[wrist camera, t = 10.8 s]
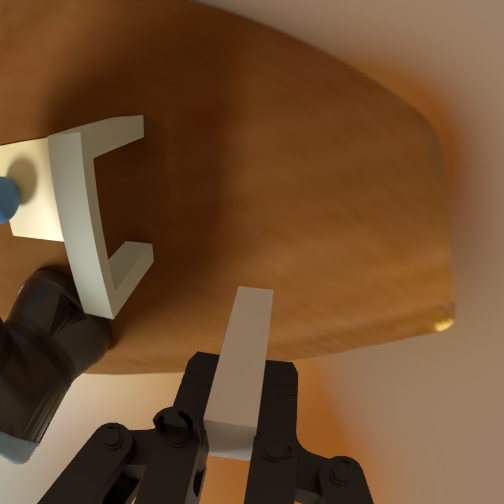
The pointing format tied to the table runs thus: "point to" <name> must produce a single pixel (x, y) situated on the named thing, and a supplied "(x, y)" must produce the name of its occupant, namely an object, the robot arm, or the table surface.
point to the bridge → (94, 215)
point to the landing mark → (32, 189)
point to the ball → (8, 199)
